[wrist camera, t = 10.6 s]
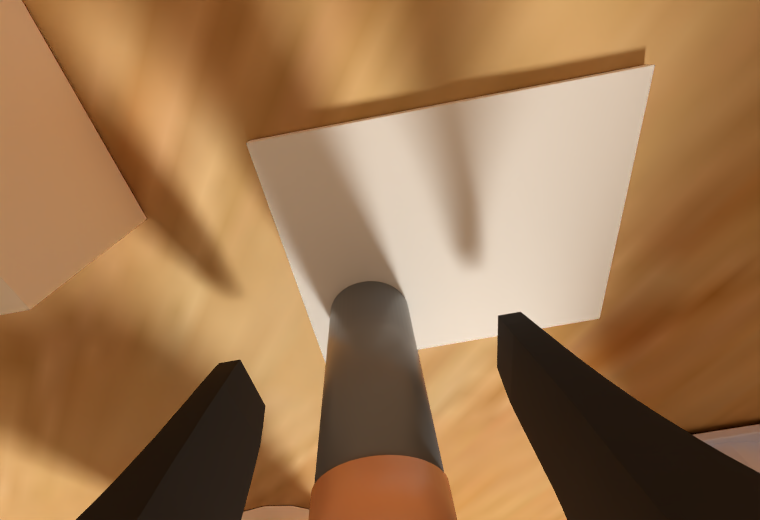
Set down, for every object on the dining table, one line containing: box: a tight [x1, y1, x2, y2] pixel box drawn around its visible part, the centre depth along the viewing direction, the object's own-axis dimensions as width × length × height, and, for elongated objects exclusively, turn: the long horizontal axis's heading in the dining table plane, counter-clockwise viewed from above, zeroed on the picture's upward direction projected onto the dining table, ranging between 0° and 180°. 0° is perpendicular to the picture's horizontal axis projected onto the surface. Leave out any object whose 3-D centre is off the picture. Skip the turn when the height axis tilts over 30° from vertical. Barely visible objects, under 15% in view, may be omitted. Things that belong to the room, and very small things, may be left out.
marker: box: [309, 281, 457, 520], centre depth 8 cm, size 3×3×7 cm
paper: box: [246, 65, 655, 363], centre depth 10 cm, size 10×8×1 cm
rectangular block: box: [0, 0, 147, 315], centre depth 7 cm, size 5×1×4 cm, turn 9°
